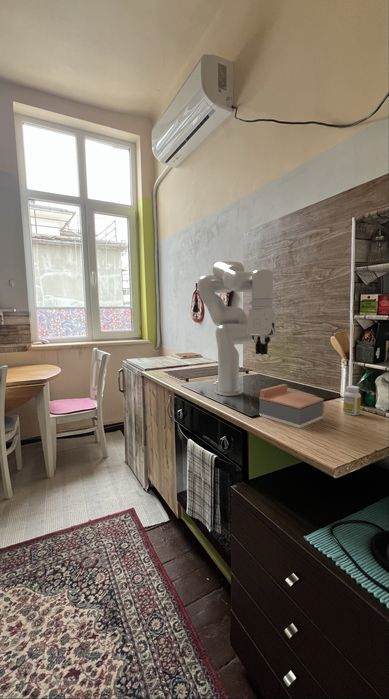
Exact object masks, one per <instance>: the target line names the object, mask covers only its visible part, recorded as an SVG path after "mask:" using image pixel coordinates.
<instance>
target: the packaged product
mask: <svg viewBox="0 0 389 699" xmlns="http://www.w3.org/2000/svg"><path fill="white" fill-rule="evenodd" d="M287 391H290V392H295V393H300V394H304V395H309V396H314V397H318V398H319V396H318V395H315V394H312V393H309V392H305V391H302V390H298V389H295V388H291V387H287ZM324 406H325V403H324V402H323V407H324Z"/></svg>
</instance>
